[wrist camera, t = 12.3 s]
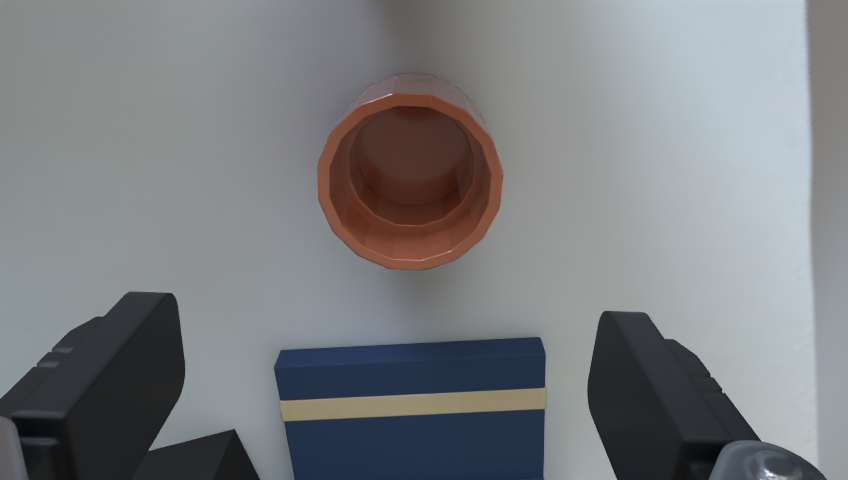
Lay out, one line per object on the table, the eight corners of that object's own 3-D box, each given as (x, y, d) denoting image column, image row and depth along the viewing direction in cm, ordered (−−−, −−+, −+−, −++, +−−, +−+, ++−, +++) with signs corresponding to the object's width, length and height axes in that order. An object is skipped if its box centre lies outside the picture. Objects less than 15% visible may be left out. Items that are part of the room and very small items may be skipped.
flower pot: (339, 215, 25) (319, 266, 21) (337, 68, 23) (315, 89, 18) (481, 221, 25) (493, 273, 21) (493, 75, 23) (510, 97, 19)
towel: (318, 565, 33) (311, 602, 31) (279, 349, 28) (267, 378, 26) (538, 555, 33) (545, 593, 31) (541, 336, 28) (550, 364, 26)
